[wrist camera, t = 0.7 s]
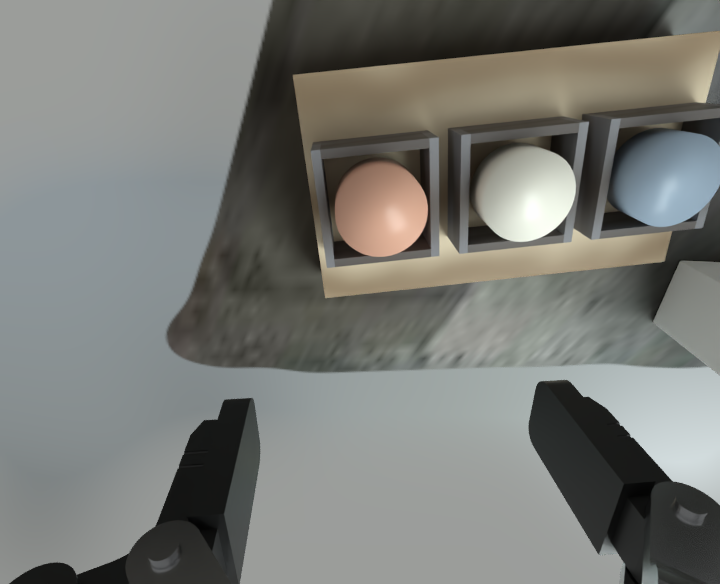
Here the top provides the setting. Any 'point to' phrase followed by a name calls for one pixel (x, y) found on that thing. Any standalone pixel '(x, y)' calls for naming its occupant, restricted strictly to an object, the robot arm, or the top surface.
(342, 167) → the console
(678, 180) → the slate blue button
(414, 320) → the top surface
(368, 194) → the terracotta button
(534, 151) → the cream button
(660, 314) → the milk
